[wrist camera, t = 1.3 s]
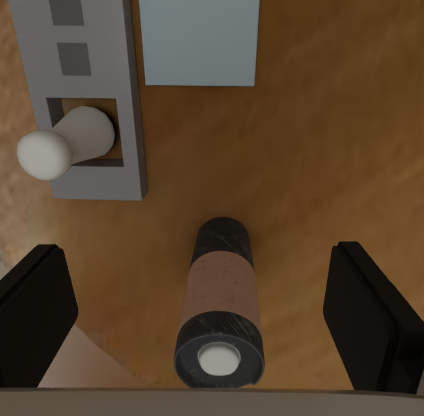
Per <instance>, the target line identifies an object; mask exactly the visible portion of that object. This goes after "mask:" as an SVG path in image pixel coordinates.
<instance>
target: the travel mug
mask: <svg viewBox="0 0 424 416" xmlns="http://www.w3.org/2000/svg"><path fill="white" fill-rule="evenodd" d="M264 366H265V361H264V352H263V343H262V334H261V324H260V315H259V306H258V297H257V287H256V278H255V271H254V265H253V259H252V254H251V248H250V242H249V237H248V234H247V231H246V230H245V228H244V227H243V226H242V225H241V224H240V223H239V222H237V221H235V220H233V219H230V218H215V219H212V220H210V221H208V222H207V223H205V224H204V225H203V226H202V228H201V229H200V231H199V233H198V237H197V240H196V244H195V249H194V253H193V257H192V261H191V265H190V269H189V274H188V279H187V285H186V291H185V297H184V303H183V308H182V314H181V320H180V326H179V332H178V337H177V343H176V349H175V355H174V368H175V371H176V373H177V376H178V377H179V378H180V380H181V381H182V382H183V383H184V384H185V385H187V386H188V387H189V388H240V387H242V386H244V385H247V384H252V385H256V384H257V383H258V382H259V381H260V379H261V377H262V375H263V372H264Z"/></svg>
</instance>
